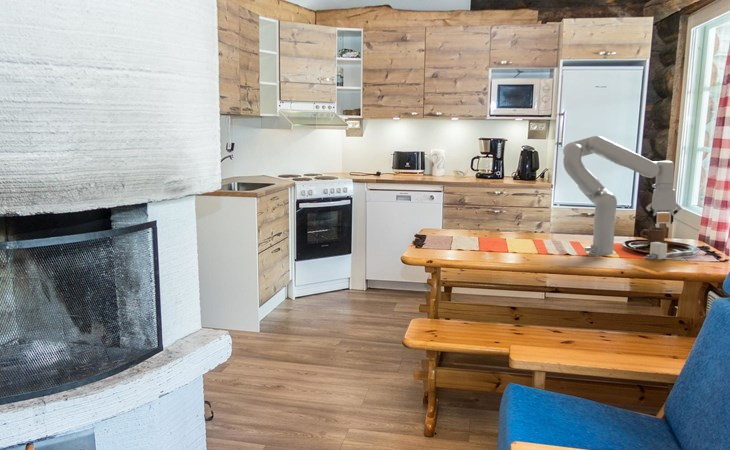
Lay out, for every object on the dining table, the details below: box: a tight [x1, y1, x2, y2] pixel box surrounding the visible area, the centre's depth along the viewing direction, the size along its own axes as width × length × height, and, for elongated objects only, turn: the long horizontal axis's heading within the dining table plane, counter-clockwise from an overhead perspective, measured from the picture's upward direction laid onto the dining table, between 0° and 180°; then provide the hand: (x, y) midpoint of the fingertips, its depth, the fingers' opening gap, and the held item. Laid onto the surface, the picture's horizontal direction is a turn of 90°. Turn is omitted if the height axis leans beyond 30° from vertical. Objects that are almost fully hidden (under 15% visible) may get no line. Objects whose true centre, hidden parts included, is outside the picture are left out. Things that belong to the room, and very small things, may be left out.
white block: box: [649, 242, 668, 260], centre depth 271 cm, size 5×6×7 cm
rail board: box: [642, 250, 696, 261], centre depth 274 cm, size 26×7×3 cm, turn 107°
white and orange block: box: [654, 211, 672, 228], centre depth 278 cm, size 5×6×7 cm
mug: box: [640, 227, 666, 246], centre depth 302 cm, size 12×8×9 cm, turn 83°
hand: (662, 223), depth 278 cm, fingers closed on white and orange block, 6 cm apart
